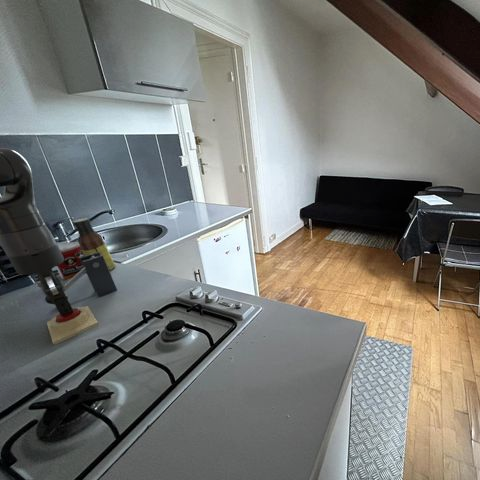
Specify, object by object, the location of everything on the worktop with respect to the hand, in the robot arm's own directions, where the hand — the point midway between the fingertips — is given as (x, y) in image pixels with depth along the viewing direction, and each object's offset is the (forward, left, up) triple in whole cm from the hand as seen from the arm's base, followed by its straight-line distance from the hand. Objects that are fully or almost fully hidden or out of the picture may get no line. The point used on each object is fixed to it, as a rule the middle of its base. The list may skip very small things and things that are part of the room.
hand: (67, 313), depth 62 cm
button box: (0, 0, -5) cm, 5 cm away
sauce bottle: (-4, +32, -5) cm, 33 cm away
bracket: (+2, +15, -5) cm, 16 cm away
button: (0, 0, -2) cm, 2 cm away
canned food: (-13, +35, -5) cm, 38 cm away
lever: (-2, +13, +2) cm, 13 cm away
